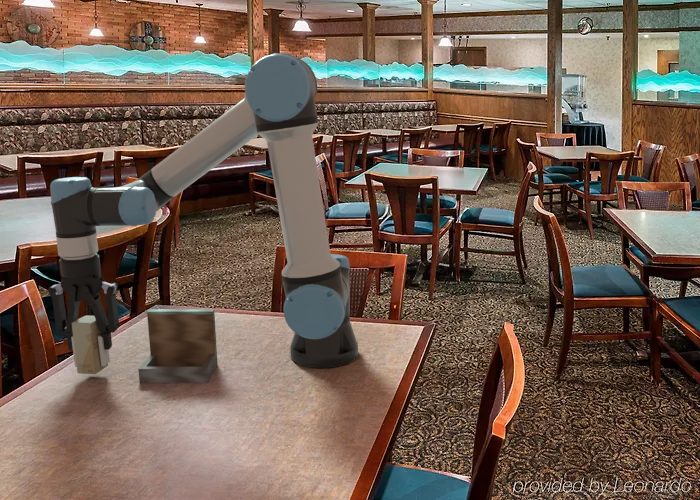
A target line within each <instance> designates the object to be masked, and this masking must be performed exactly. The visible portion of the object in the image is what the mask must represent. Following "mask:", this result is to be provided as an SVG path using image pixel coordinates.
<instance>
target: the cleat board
mask: <svg viewBox="0 0 700 500" xmlns="http://www.w3.org/2000/svg"><path fill="white" fill-rule="evenodd" d="M146 315H147V316H146V317H147V318H146V319H147V327H148V328H147V329H148V340H149V350H150V352H149V353H150V354H149V355H148V357H146V359H145V360H144V361H143V363H142V364H141V365H140V366H139V368H138V370H137V372H138V379H139V381H138V383H140V384H141V383H142V384H143V383H145V384H146V383H153V384H154V383H156V384H157V383H159V384H160V383H161V384H163V383H167V384H168V383H171V384H172V383H174V384H175V383H176V384H177V383H180V384H181V383H183V384H185V383H187V384H189V383H193V384H194V383H195V384H197V383H200V384H201V383H205V384H206V383H207V384H208V383H209V380H210V379H211V377H212V375H213V373H214V372H215V370H216V368H217V366H218V352H217V351H218V350H217V333H216V319H215V317H216V316H215V315H216V314H215V309H214V308H213V309H212V308H207V309H206V308H202V309H201V308H200V309H199V308H192V309H191V308H187V309H186V308H185V309H184V308H182V309H181V308H180V309H179V308H178V309H177V308H176V309H175V308H174V309H172V308H171V309H170V308H169V309H167V308H164V309H163V308H162V309H161V308H160V309H159V308H155V309H154V308H153V309H150V308H149V309H148V310H147V311H146Z"/></svg>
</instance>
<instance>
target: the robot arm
mask: <svg viewBox="0 0 700 500" xmlns="http://www.w3.org/2000/svg"><path fill="white" fill-rule="evenodd" d="M244 92H245V93H244V98H243V99H241V100H240V101H238V103H236V104H235V105H233V106H232V107H231V108H230V109H228V110H227V111H226V112H224V113H223V114H222V115H220V116H218V118H216V119H215V120H214V121H212V122H211V123H210V124H208V125H207V126H206V127H205V128H204V129H202V130H201V131H200V132H198V133H197V134H195V135H194V136H193V137H192V138H190V139H189V140H187V141H186V142H185V143H184V144H182V145H181V146H179V148H177V149H175V150H174V151H173V152H172V153H171V154H169V155H168V156H167V157H165V158H164V159H162V161H160V162H158V163H157V164H156V165H155V166H153V167H152V168H151V169H150V170H147V171H146V173H144V174H142V175H141V176H139V178H137V179H136V180H134V181H132V182H129V183H126V184H124V185H121V186H115V187H113V186H112V187H93V185H92V183H91V180H90V178H88V177H87V176H85V177H84V176H82V177H81V176H72V177H69V176H68V177H63V178H57V179H54V180H52V181H51V183H50V186H49V187H50V200H51V201H50V205H51V207H52V214H53V221H54V228H55V236H56V237H55V238H56V247H57V253H58V256H59V257H60V259H59V260H58V262H59V269H60V276H61V280H60V283H58V284H53V285H51V286H49V288H48V289H47V290H48V291H47V292H48V293H49V296H50V298H51V300H52V306H53V307H52V308H53V314H54V315H53V316H54V321H55V322H54V323H55V329H56V333H57V334H58V335H59V334H60V335H61V334H62V335H65V336H66V339H67V347H68V349H69V351H72V353H73V354H72V355H73V361H74V367H75V368H77V365H76V356H75V348H74V339H73V330H72V323H73V322H74V321H76V320H78V319H79V312H80V311H79V310H80V305H81V302H82V301H84V302H87V304H88V306H90V308H91V311H92V314H93V316H95V319H96V321H97V324H98V327H99V329H100V332H101V334H100V335H99V336H98V343H99V351H100V359H101V366H106V365H107V364H108V365H109V363H110V361H111V360H110V349H111V348H112V346H113V341H112V340H113V339H112V333H115V332H116V331H117V330H118V329H120V320H119V312H118V310H119V309H118V301H117V290H118V287H119V286H118V284H117V283H116V282H113V283H109V282H106V281H105V279H104V278H103V276H102V269H101V268H102V267H101V260H100V255H99V254H98V252H99V244H98V236H97V227H105V226H107V227H108V226H113V227H115V226H116V227H117V226H118V227H119V226H120V227H121V226H128V227H129V226H131V227H137V226H144V225H145V226H147V225H149V224H151V223H152V222H153V221H154V218H155V217H156V214H157V212H158V211H159V210H161V209H162V208H164V207H165V206H166V204H168V202H170V201H171V200H173V199H174V198H175V197H176V196H178V195H179V194H180V193H182V192H183V191H184V190H186V189H187V188H188V187H190V186H191V185H192V184H193V183H195V182H196V181H198V179H200V178H202V177H203V176H204V175H206V174H207V173H208V172H210V171H211V170H213V169H214V168H215V167H216V166H218V165H219V164H221V163H222V162H223V161H224V160H225V161H226V159H227V158H228V157H230V156H231V155H233V154H234V153H236V152H237V151H238V150H239V149H241V148H242V147H243V146H245V145H246V144H248V143H249V142H251V141H252V140H253V139H255V138H256V137H257V136H258V135H259V136H260V137H261V138H262V139H264V140H265V141H266V143H267V149H268V155H269V162H270V168H271V173H272V180H273V185H274V189H275V190H274V191H275V196H276V197H275V198H276V203H277V209H278V214H279V220H280V227H281V231H282V237H283V244H284V249H285V255H286V261H287V262H286V265H285V266H284V268H283V269H282V270H281V278H282V284H283V290H284V295H285V299H284V303H283V315H284V316H283V317H284V320H285V322H286V325H287V326H288V327H289V328H290V330H291V331H292V332H293V333H294V334H293V337H292V341H291V343H290V348H289V349H290V358H291V360H292V361H293V362H294V363H296V364H298V365H301V366H302V367H303V366H304V367H308V368H309V367H310V368H314V369H315V368H318V369H319V368H320V369H322V368H323V369H326V368H327V369H329V368H337V367H341V366H345V365H348V364H351V363H352V362H354V361H355V360H356V359H357V358H358V356H359V345H358V341H357V338H356V336H355V331H354V330H353V326H352V324H351V311H350V310H351V307H350V305H351V299H350V297H351V296H350V295H351V294H350V292H351V291H350V284H351V283H350V272H351V267H350V259H349V258H348V257H347V256H346V255H342V254H336V253H335V254H334V253H331V248H330V243H329V242H330V241H329V236H328V235H329V234H328V229H327V222H326V215H325V208H324V204H323V198H322V197H323V196H322V192H321V191H322V190H321V182H320V178H319V170H318V167H317V159H316V152H315V151H316V150H315V146H314V139H313V132H314V131H315V130H316V128H317V127H318V125H319V120H318V119H319V118H318V113H317V106H316V96H317V93H318V81H317V77H316V74H315V72H314V71H313V69H312V68H311V65H309V64H308V63H307V62H305V61H304V60H302V59H301V58H299V57H295V56H293V55H292V54H288V53H284V52H280V53H276V52H274V53H272V54H269V55H266V56H265V55H264V57H262V58H259V59H258V60H257V61H256V62H255V63H254V64H253V65H252V66H251V67H250V69H249V71H248V72H247V74H246V76H245V82H244ZM102 289H103V293H104V294H105V303H106V311H105V309H104V306H103V303H102V301H101V300H102V298H101V295H100V292H101V290H102ZM64 292H65V293H66V294H67V296H68V303H67V304H68V310H67V313H66V305H65V299H64ZM106 312H107V314H106Z"/></svg>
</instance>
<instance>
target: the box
mask: <svg viewBox="0 0 700 500" xmlns="http://www.w3.org/2000/svg"><path fill="white" fill-rule="evenodd" d="M72 330H73V339H74V348H75V356H76V365H77V367H76V372H77V374H80V375H81V374H83V375H97V374H98V373H100V372H101V371H103V370H104V369H106V368H107V367H108V366H109V363H108V364H107V365H106V366H101V359H100V351H99V343H98V336H99V335H100V334H101V332H100V329H99V327H98V324H97V321H96V319H95V316H94V315H87V314H86V315H84V316H81V317H80V318H78V320H76V321H74V322H73V323H72Z"/></svg>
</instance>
